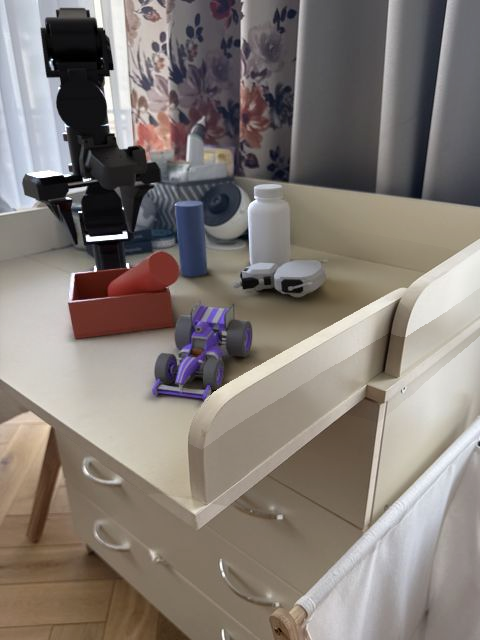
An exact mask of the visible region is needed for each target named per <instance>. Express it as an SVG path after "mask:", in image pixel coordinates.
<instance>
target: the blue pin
mask: <svg viewBox="0 0 480 640" xmlns="http://www.w3.org/2000/svg"><path fill="white" fill-rule="evenodd" d="M174 211H175V222H176V234H177V245H178V255H179V256H178V257H179V270H180V274H181V275H182V276H184V277H187V278H197V277H201V276H204V275H207V274H208V262H207V261H208V260H207V247H206V245H207V243H206V232H205V231H206V230H205V229H206V228H205V215H204V202H203V201H201V200H181V201H177V202H175V203H174Z"/></svg>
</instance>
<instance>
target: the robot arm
mask: <svg viewBox="0 0 480 640" xmlns="http://www.w3.org/2000/svg"><path fill="white" fill-rule="evenodd" d="M40 37H41V46H42V54H43V62H44V69H45V76H46V78H47V79H55V78H57V79H59V81H60V84H59V87H58V92H57V94H56V98H55V99H56V100H55V107H56V110H57V114H58V116H59V117H60V119H61V121H62V122H63V123H64V128H65V132H63V133H62V138H63V139H62V140H63V142H67V145H68V150H69V157H70V163H68V164H67V167H68V171H69V173H72V174H63V173H59V172H55V171H53V170H52V171H51V170H44V171H36V172H29V173H25V174H24V176H23V177H22V180H21V181H22V182H21V184H22V189H23V193H24V196H26V197H29V198H32V199H35V201H36V202H39V203H42V204H45V205H46V206H47V208H48V209H49V211H50V212H51V214H53V215H54V217H55V218H56V220H57V221H58V224H59V225H60V226H61V228H62V229H63V231H64V232H65V234H66V236H67V237H68V239H69V241H70V242H71V244H72V245H74V246H78V245H79V239H78V232H77V228H76V224H75V220H74V214H73V210H72V208H73V207H72V206H73V198H70V197H67V195H68V193H69V192H70V190H74V189H79V188H85V187H86V189H85V190H84V192H83V195H82V197H81V200H80V207H81V211H78V219H79V226H80V232H81V236H82V241H83V246H85V247H86V246H90V245H91V246H92V253H93V258H94V264H95V266H94V268H93V269H94V270H93V271H100V270H110V269H120V268H130V265H129V264H130V263H129V262H127V257H126V250H125V243H126V242H128V243H131V242H132V240H135V236H134V235H135V230H136V227H137V222H138V218H139V213H140V209H141V205H142V202H143V199H144V198H145V196H146V195H147V193H148V192H149V191H150V190H153V189H154V188H155V186H156V185H155V183H162V182H163V179H162V178H163V177H162V169H161V167H160V166H159V165H158V163H157V162H156V161H153V160H148V159H147V154H146V153H147V152H146V148H144V147H143V146H142V145H139V144H138V145H129V146H128V147H127V148H120V147H119V145H118V140H117V137H116V134H115V132H111V131H110V124H109V123H110V122H109V117H108V116H109V115H108V102H107V100H106V94H105V93H106V92H105V86H106V85H105V84H106V77H111V71H115V67H114V59H113V52H112V47H111V45H112V44H111V40H110V37H109V36H108V35H107V34H106V29H104V27H99V26H98V20H97V18H96V17H95V16H93V17H92V16H91V12H90V9H86V8H85V7H59V8H58V9H55V16H46V17H45V18H44V27H40ZM52 67H53V69H52ZM117 188H119V191H120V195H119V194H118V192H117V190H116V189H117Z"/></svg>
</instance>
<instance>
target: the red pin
mask: <svg viewBox="0 0 480 640" xmlns="http://www.w3.org/2000/svg"><path fill="white" fill-rule="evenodd" d="M131 267H132V268H131V269H129V270H128V271H126V272H125V273H124V274H122V275H121V276H119V277H118V278H116V279H115V280H113V281H112V282H111V283H110V284H109V287H108V296H109V297H114V296H123V295H132V294H141V293H150V292H159V291H161V290H163V289H165V288H166V287H170V286H172V285H173V284H175V283H176V282H177V281H178V279H179V277H180V265H179V264H178V261H177V260H176V258H174V256H173V255H171V254H170V253H168V252H167V251H162V250H158V251H155V252H153V253H152V254H150V255H149V256H147V257H145V258H144V259H143V260H142V261H140V262H137V264H135V265H134V266H131Z"/></svg>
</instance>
